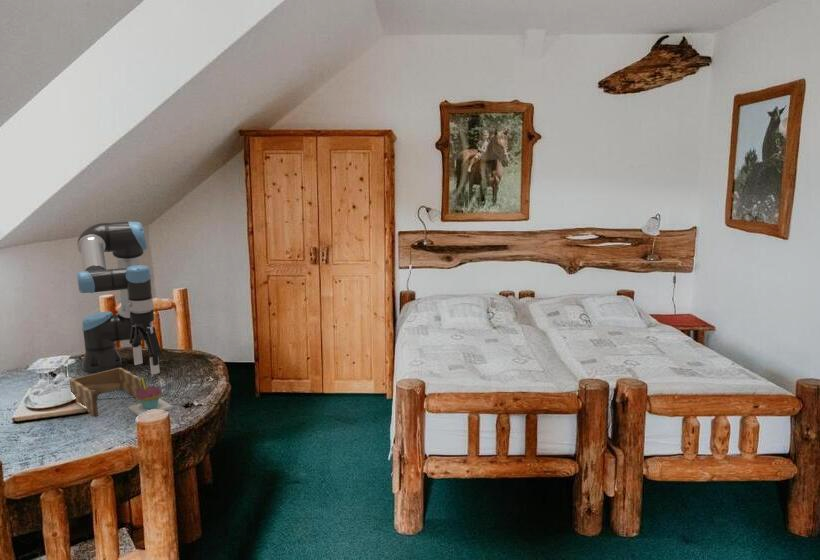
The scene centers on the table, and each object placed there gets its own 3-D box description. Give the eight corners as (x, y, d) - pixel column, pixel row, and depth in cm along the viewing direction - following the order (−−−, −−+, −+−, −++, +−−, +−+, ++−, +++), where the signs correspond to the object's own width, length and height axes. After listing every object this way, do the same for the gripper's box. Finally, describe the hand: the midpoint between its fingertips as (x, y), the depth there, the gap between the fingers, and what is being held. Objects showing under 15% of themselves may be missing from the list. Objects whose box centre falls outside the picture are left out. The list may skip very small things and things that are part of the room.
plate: (128, 409, 216) (128, 406, 216) (159, 400, 224) (158, 398, 224) (142, 418, 209) (141, 415, 209) (172, 408, 217) (172, 405, 216)
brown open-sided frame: (71, 399, 225) (69, 376, 223) (122, 386, 238) (120, 364, 237) (94, 416, 210) (91, 391, 208) (147, 401, 223) (145, 377, 221)
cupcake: (146, 413, 210) (142, 380, 208) (132, 407, 215) (128, 375, 213) (168, 404, 217) (164, 373, 215) (154, 399, 222) (150, 368, 219)
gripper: (115, 306, 215) (121, 362, 220) (146, 319, 198) (152, 380, 203) (137, 302, 220) (142, 357, 225) (168, 315, 204) (173, 374, 208)
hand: (146, 368), depth 214 cm, fingers open, 13 cm apart
